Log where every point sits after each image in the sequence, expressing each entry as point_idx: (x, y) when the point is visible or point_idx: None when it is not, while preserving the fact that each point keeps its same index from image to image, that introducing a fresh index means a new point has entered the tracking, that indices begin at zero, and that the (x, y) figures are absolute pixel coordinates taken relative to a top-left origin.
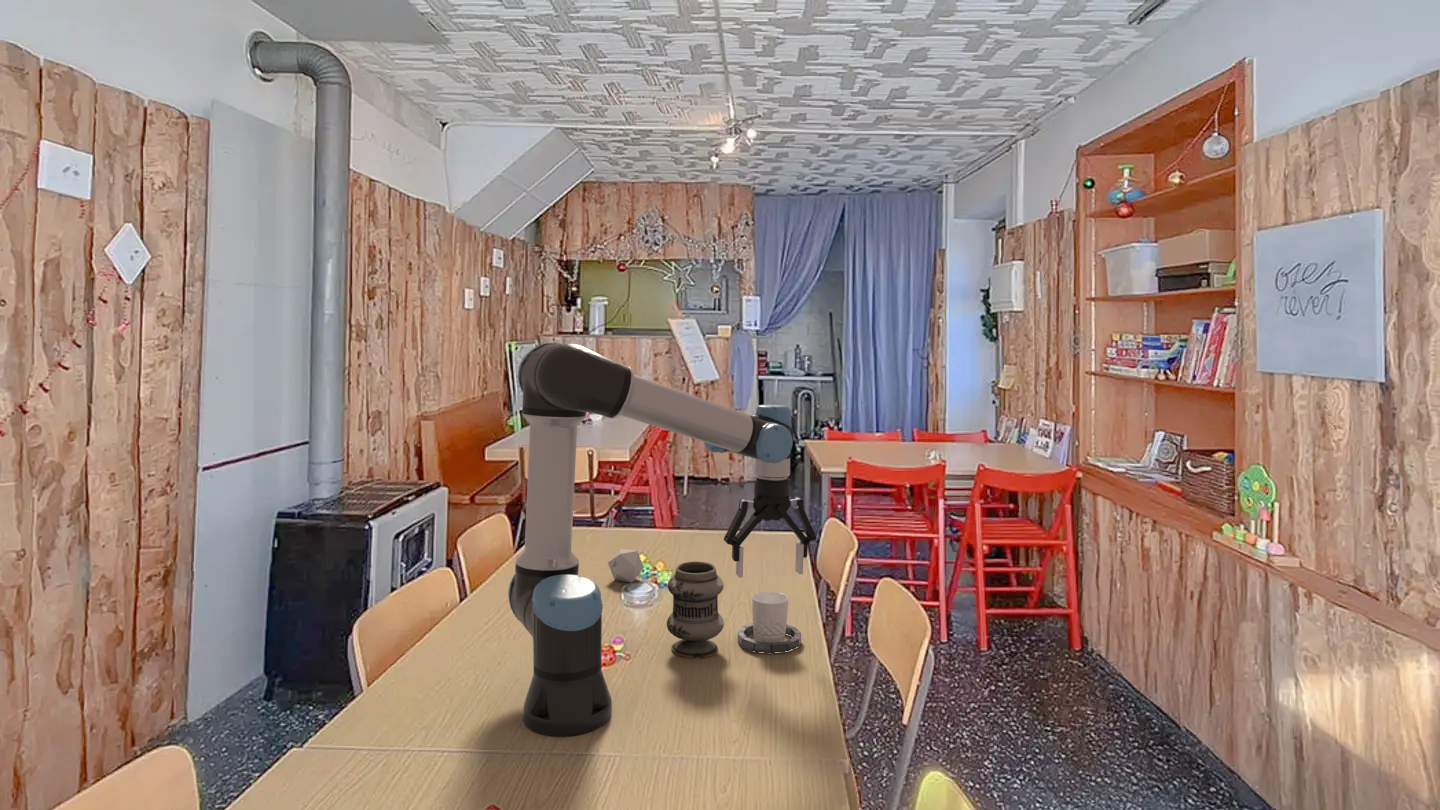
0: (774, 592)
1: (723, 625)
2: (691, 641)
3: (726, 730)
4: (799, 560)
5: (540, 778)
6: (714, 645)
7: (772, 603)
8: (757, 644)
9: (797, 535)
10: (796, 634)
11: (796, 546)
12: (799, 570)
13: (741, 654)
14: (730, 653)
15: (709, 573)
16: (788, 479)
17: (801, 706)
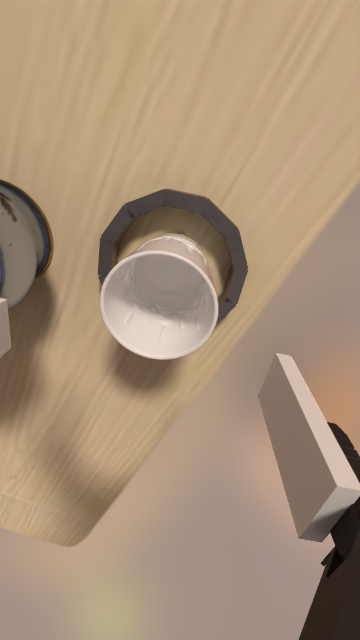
0: (198, 272)
1: (29, 289)
2: None
3: (7, 461)
4: (273, 437)
5: None
6: (41, 251)
7: (139, 354)
8: None
9: (315, 609)
10: (222, 307)
11: (317, 459)
12: (261, 404)
13: (91, 298)
14: (72, 284)
15: None
16: None
17: (108, 458)
